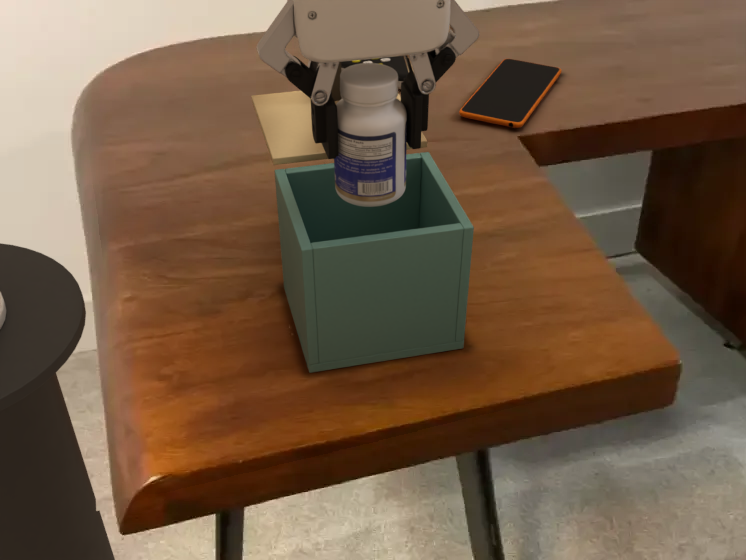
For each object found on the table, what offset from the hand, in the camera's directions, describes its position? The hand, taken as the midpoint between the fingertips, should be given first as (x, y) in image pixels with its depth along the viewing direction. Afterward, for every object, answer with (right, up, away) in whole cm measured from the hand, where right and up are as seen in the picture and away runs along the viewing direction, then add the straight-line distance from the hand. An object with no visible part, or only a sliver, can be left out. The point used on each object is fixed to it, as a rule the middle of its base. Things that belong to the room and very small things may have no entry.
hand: (370, 142), depth 66 cm
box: (0, -11, +11) cm, 16 cm away
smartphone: (+16, +18, +42) cm, 48 cm away
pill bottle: (0, -3, +3) cm, 4 cm away
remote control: (0, +22, +46) cm, 51 cm away
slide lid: (-3, +5, +11) cm, 13 cm away
